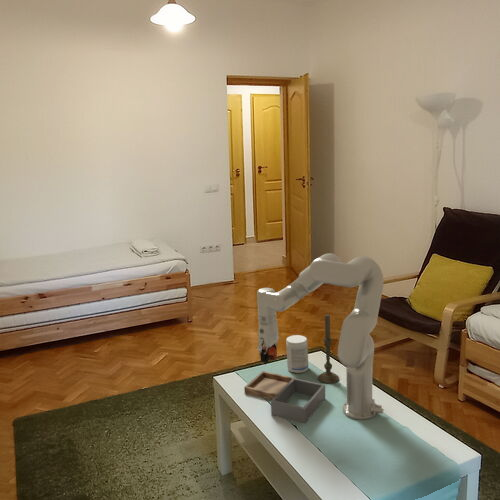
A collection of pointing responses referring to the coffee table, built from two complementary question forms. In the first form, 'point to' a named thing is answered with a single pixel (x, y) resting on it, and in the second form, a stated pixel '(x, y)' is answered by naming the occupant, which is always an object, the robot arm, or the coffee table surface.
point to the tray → (267, 385)
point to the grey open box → (293, 411)
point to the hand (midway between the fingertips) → (268, 357)
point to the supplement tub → (297, 353)
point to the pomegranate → (271, 353)
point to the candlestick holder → (328, 356)
